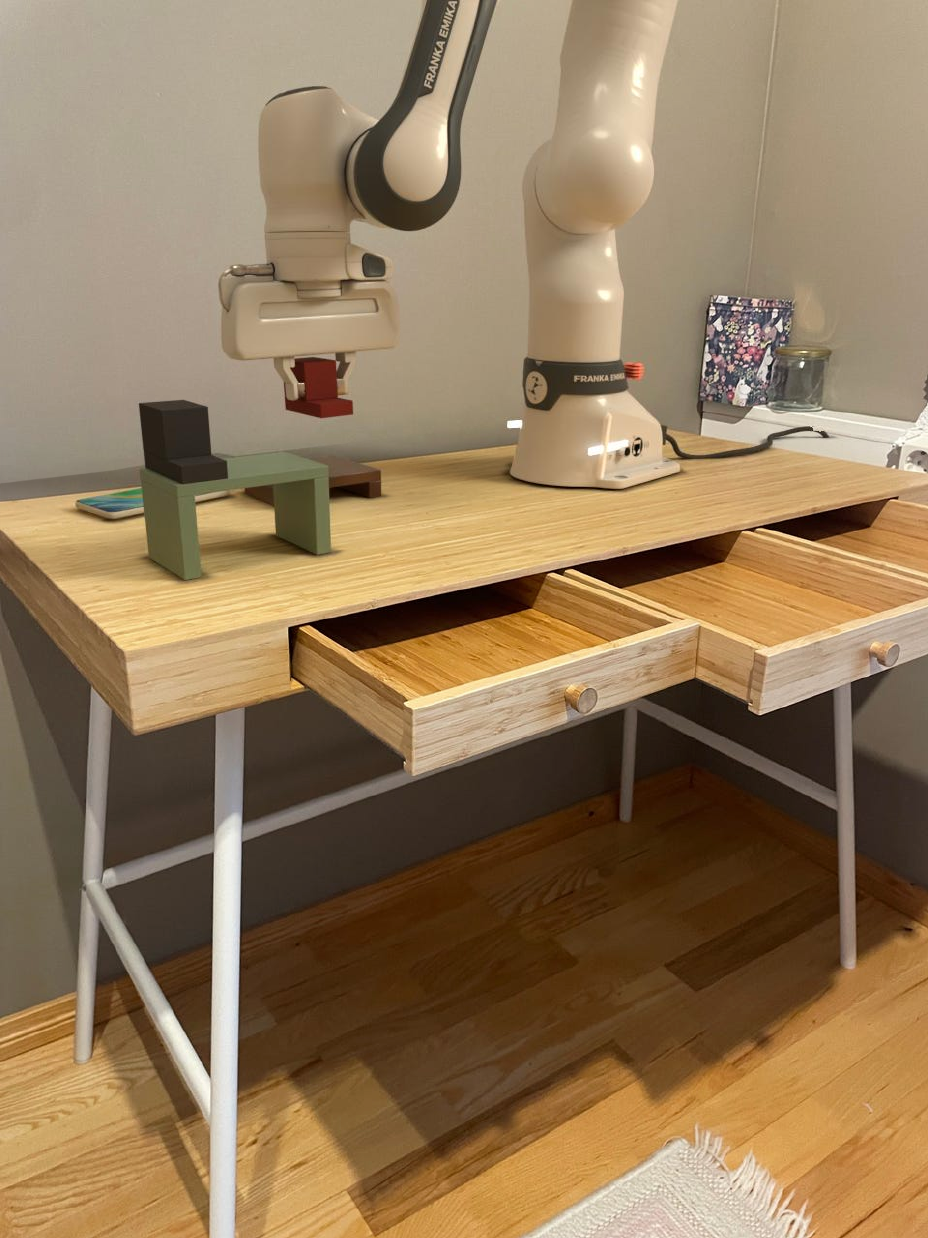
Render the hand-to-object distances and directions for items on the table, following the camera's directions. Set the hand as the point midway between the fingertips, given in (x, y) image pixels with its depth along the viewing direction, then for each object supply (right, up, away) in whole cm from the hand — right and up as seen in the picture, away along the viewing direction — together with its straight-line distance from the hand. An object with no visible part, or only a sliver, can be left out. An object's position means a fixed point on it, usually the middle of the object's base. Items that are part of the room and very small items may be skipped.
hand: (318, 396), depth 106 cm
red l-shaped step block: (0, -2, +1) cm, 2 cm away
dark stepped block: (-8, -12, -25) cm, 28 cm away
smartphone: (-17, -12, -2) cm, 21 cm away
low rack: (-1, -10, +3) cm, 11 cm away
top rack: (-4, -19, -19) cm, 27 cm away
